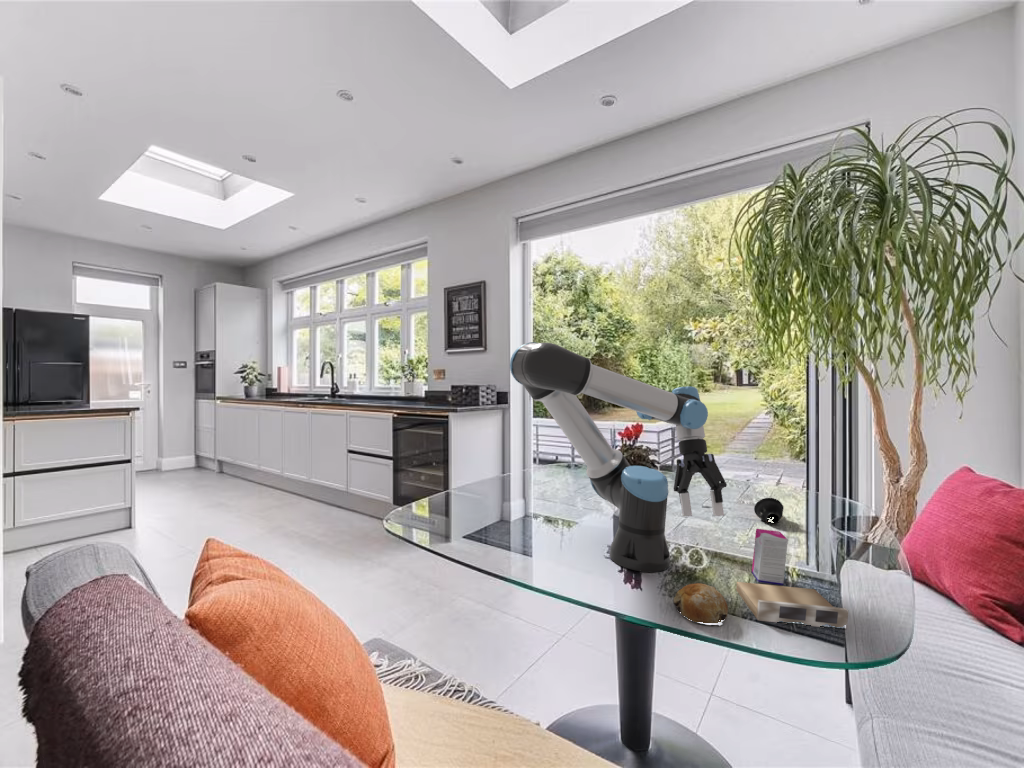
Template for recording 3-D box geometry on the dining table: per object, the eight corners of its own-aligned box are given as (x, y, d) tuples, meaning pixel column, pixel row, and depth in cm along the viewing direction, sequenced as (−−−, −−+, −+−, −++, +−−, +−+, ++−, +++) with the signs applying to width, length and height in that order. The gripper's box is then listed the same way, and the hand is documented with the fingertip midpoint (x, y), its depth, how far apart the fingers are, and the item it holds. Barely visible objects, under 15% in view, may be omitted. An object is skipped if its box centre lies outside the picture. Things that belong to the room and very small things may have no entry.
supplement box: (784, 586, 115) (788, 539, 114) (757, 582, 116) (761, 536, 115) (776, 575, 120) (780, 530, 120) (750, 572, 122) (754, 527, 121)
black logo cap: (755, 511, 157) (743, 480, 173) (764, 538, 159) (751, 505, 176) (785, 505, 153) (770, 474, 170) (794, 532, 156) (778, 500, 173)
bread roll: (705, 647, 95) (726, 619, 92) (661, 607, 101) (680, 580, 98) (722, 627, 102) (742, 601, 99) (681, 591, 108) (698, 565, 105)
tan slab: (758, 621, 99) (760, 602, 98) (736, 590, 111) (737, 573, 111) (847, 630, 97) (848, 611, 96) (813, 597, 110) (815, 580, 109)
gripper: (732, 432, 129) (746, 514, 123) (677, 446, 152) (686, 515, 146) (708, 432, 127) (721, 516, 121) (656, 446, 150) (665, 516, 144)
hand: (702, 516), depth 134 cm, fingers open, 13 cm apart
